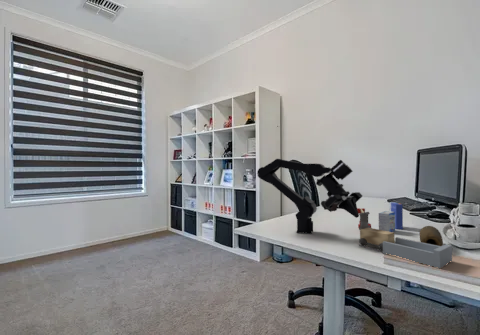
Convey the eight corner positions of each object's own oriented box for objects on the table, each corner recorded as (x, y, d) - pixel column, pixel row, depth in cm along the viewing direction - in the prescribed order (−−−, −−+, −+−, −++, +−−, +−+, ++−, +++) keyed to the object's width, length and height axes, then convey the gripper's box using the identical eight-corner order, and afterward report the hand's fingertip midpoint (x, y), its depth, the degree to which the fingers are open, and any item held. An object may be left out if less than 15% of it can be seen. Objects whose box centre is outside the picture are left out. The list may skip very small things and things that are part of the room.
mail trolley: (358, 244, 93) (358, 213, 93) (367, 241, 97) (367, 211, 97) (387, 251, 85) (386, 217, 85) (395, 248, 88) (395, 215, 88)
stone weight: (417, 240, 100) (416, 223, 100) (439, 242, 97) (439, 225, 97) (421, 251, 87) (421, 231, 87) (446, 254, 84) (446, 234, 84)
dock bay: (356, 246, 92) (356, 232, 92) (370, 242, 98) (370, 229, 98) (439, 268, 71) (439, 251, 71) (452, 261, 77) (451, 245, 77)
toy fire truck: (364, 234, 109) (363, 212, 109) (356, 227, 122) (355, 207, 122) (372, 235, 108) (372, 212, 108) (363, 227, 122) (363, 207, 122)
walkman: (402, 229, 117) (402, 203, 117) (396, 229, 118) (396, 203, 118) (395, 225, 125) (395, 201, 125) (389, 225, 126) (389, 201, 126)
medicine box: (389, 233, 110) (389, 213, 110) (378, 231, 114) (378, 212, 114) (395, 230, 115) (395, 211, 115) (384, 229, 119) (384, 210, 119)
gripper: (334, 197, 117) (357, 225, 108) (307, 200, 107) (330, 232, 98) (350, 181, 111) (375, 209, 102) (323, 182, 100) (349, 215, 91)
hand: (357, 217), depth 98 cm, fingers closed
